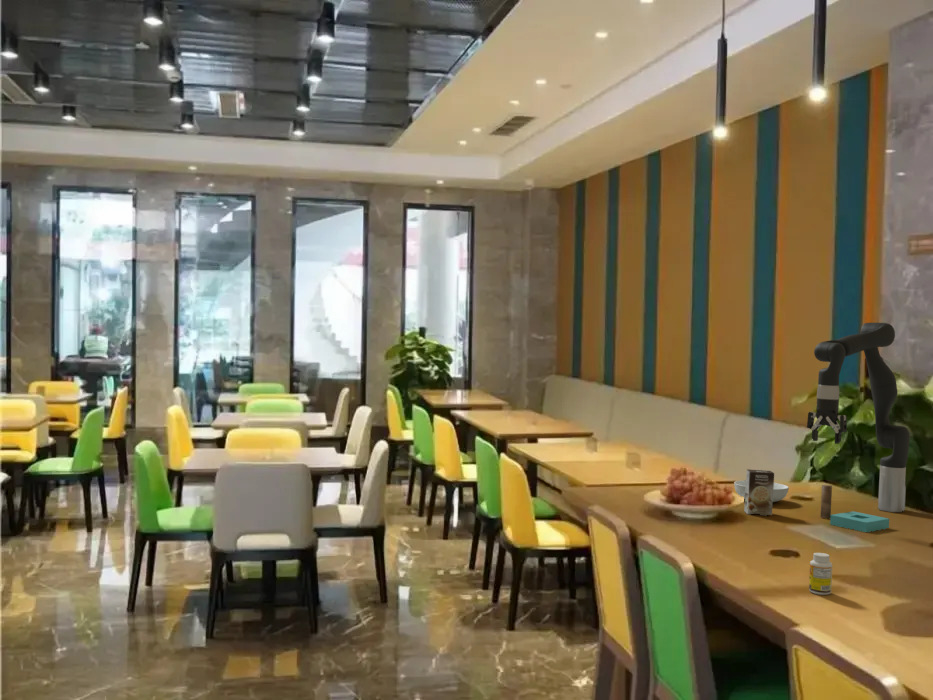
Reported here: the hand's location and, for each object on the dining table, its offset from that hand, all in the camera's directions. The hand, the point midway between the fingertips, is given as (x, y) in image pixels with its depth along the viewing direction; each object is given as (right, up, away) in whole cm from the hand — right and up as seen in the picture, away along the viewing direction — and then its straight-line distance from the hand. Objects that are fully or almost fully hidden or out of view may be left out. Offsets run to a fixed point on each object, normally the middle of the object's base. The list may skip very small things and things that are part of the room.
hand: (826, 442), depth 342 cm
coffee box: (-21, -28, +12) cm, 37 cm away
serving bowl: (-12, -28, +37) cm, 48 cm away
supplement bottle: (-37, -31, -92) cm, 104 cm away
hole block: (+10, -30, -6) cm, 32 cm away
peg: (+3, -29, +7) cm, 30 cm away
